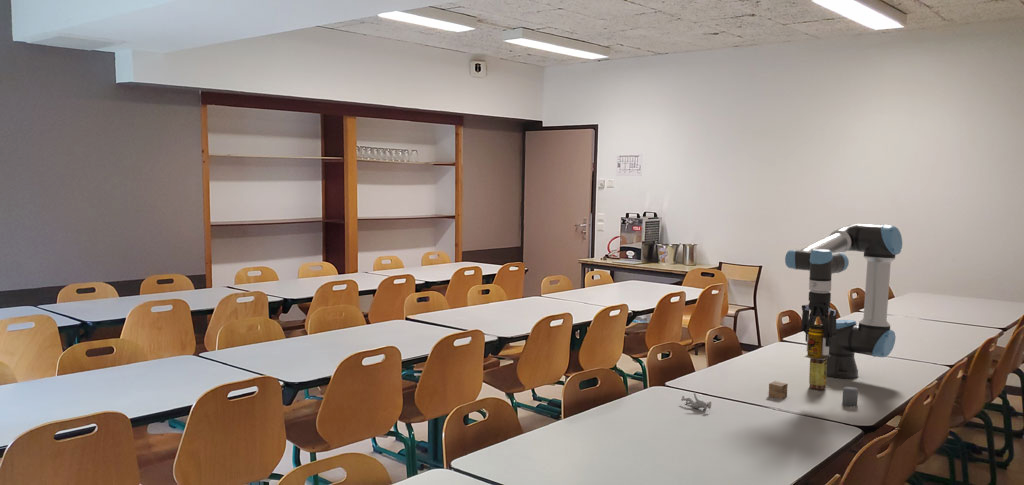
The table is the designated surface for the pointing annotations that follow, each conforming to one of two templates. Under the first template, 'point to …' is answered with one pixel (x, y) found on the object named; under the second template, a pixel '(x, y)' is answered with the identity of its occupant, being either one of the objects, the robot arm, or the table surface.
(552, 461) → the table surface
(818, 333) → the condiment
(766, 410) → the table surface
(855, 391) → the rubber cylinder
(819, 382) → the sauce bottle
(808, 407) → the table surface
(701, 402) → the soldier figure
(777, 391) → the walnut block
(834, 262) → the robot arm
